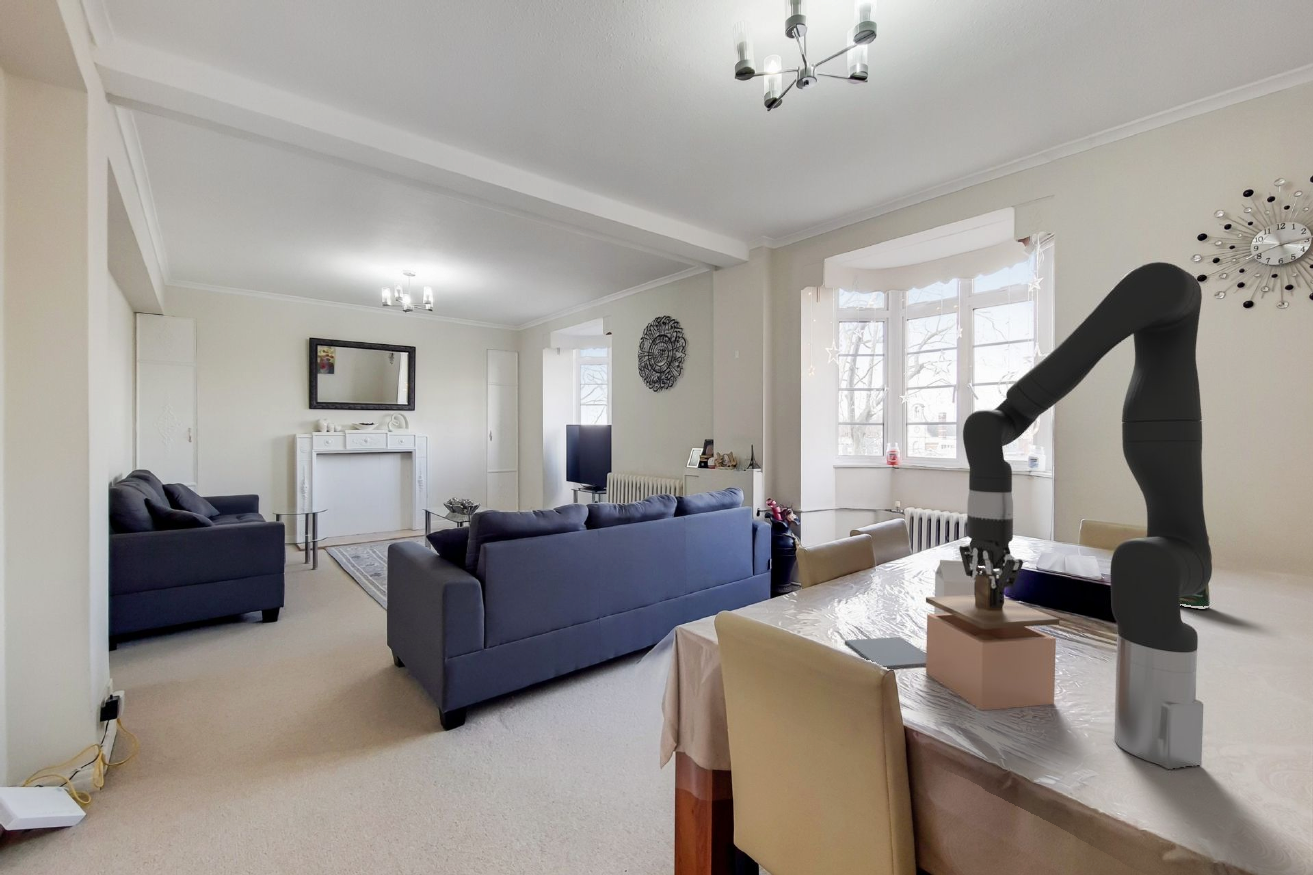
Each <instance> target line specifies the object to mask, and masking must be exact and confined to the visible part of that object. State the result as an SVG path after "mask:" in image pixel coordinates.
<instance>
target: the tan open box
mask: <svg viewBox="0 0 1313 875" xmlns="http://www.w3.org/2000/svg"><path fill="white" fill-rule="evenodd" d="M980 634H987V635H990V636H993V637H995V638H997V639H998V640H985V641H983V640H981V639H979V638H977V637H975V636H977V635H980ZM1056 644H1057V638H1056V637H1054V636H1051V635H1049V634H1047V633H1044V632H1042V631H1040V630H1038V629H1035V628H1033V627H1032V626H1026V627H1010V628H994V629H982V628H980V627H978V626H976V625H974V624H971V623H969V622H967V621H965V620H963V619H961V618H958V617H956V616H954V615H952V614H950V613H943V614H934V613H930V614H928V613H927V616H926V648H925V649H926V650H925V653H926V666H925V674H927V675H928V676H930V677H931V678H933V679H934V680H936V681H937V682H939V683H940V684H941V685H943V686H945V687H946V688H947V689H949V690H951V691H952V692H953V693H954V694H957V695H958V696H959V697H961V698H962V699H964V700H965V701H967V702H968V703H970V704H971V705H972V706H974V707H975V708H977V709H978V710H980V711H989V710H1001V709H1012V708H1013V709H1014V708H1021V707H1033V706H1036V707H1037V706H1045V705H1046V706H1047V705H1055V684H1056V683H1055V682H1056V680H1055V679H1056V655H1057V654H1056V653H1057V652H1056V651H1057V650H1056V648H1057V645H1056Z"/></svg>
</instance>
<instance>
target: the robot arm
mask: <svg viewBox="0 0 1313 875" xmlns="http://www.w3.org/2000/svg"><path fill="white" fill-rule="evenodd" d="M1202 298H1203V293H1202V287H1201V285H1200V283H1199V281H1198V280H1197V278H1196V276H1194V275H1193V274H1191V273H1189V271H1186V270H1185V269H1183V268H1181V267H1180V266H1177V265H1175V264H1173V263H1169V262H1165V261H1164V262H1162V261H1159V262H1158V261H1155V262H1150V263H1145V264H1142V265H1139V266H1137V267H1135V268H1134V269H1132V270H1130V271H1129V272H1128V273H1126V274H1125V275H1124V276H1123V277H1122V278H1121V279H1119V281H1118V282H1117V283H1116V284H1115V285H1114V286H1113V287H1112V289H1111V290H1110V291H1109V292H1108V293H1107V294H1106V296H1104V298H1102V300H1101V301H1100V302H1099V303H1098V305H1097V306H1096V307H1095V308H1094V309H1093V310H1092V311H1091V312H1090V314H1088V316H1086V318H1084V320H1083V321H1082V322H1081V323H1080V324H1079V325H1078V326H1077V327H1076V328H1075V329H1074V330H1073V331H1072V332H1071V333H1070V334H1069V335H1068V336H1067V337H1066V338H1065V339H1063V341H1062V342H1061V343H1060V344H1059V345H1057V346H1056V348H1054V350H1052V351H1051V352H1050V353H1049V354H1047V356H1045V357H1044V358H1043V359H1041V361H1039V362H1038V363H1037V364H1036V365H1035V366H1033V367H1032V368H1031V369H1029V371H1028V372H1025V374H1024V375H1023V376H1021V377H1020V378H1019V379H1018V380H1017V381H1016V382H1015V383H1013V384H1012V385H1011V386H1010V387H1009V388H1008V389H1007V391H1006V394H1005V397H1006V398H1005V399H1004V400H1003V401H1002V402H1001V403H1000V404H999V405H998V406H996V407H995V408H994V409H979V410H976V411H974V412H972V413H971V414H969V416H968V417H967V418H966V419H965V422H964V424H963V429H962V440H963V445H964V451H965V455H966V459H967V463H968V467H969V472H968V473H969V475H968V476H969V477H968V478H969V479H968V483H969V484H968V496H967V503H966V504H967V506H966V507H967V509H966V510H967V512H966V514H967V515H966V516H967V518H966V519H967V520H966V535H967V538H970V539H971V540H970V542H969V544H968V545H960V546H959V548H958V549H959V553H960V556H961V557H960V559H961V561H963V565H964V569H965V573H966V575H967V576H971V577H972V580H973V581H974V589H975V577H976V574H987V575H989V577H990V585H991V587H992V588H990V606H991V607H993V608H1002V607H1003V605H1004V598H1005V589H1006V588H1014V587H1015V585H1016V582H1017V580H1018V577H1019V575H1020V573H1021V570H1022V568H1023V565H1024V562H1023V561H1024V560H1023V559H1021V558H1016V557H1014V556H1013V555H1012V554H1011V550H1010V545H1009V544H1010V542H1012V541H1013V538H1014V536H1013V535H1014V501H1013V493H1012V492H1013V470H1012V466H1011V464H1010V463H1009V462H1007V461H1006V460H1005V456H1004V449H1003V447H1004V446H1007V445H1009V444H1011V443H1012V442H1014V441H1015V440H1017V439H1018V438H1019V437H1021V436H1022V435H1023V434H1024V433H1025V432H1027V430H1028V429H1029V428H1030V427H1031V426H1032V425H1033V424H1034V422H1035V421H1036V420H1037V419H1038V418H1039V417H1040V416H1041V415H1042V414H1044V413H1045V412H1047V411H1048V410H1049V409H1050V408H1051V407H1053V406H1055V404H1057V403H1058V402H1060V401H1061V400H1062V399H1064V398H1065V397H1066V396H1067V395H1068V394H1070V392H1072V391H1073V390H1074V389H1075V388H1076V387H1077V386H1078V385H1080V383H1081V382H1082V381H1083V380H1084V379H1085V378H1086V377H1087V376H1088V374H1089V373H1090V372H1091V371H1092V370H1093V368H1095V366H1096V365H1098V363H1099V362H1100V361H1101V360H1102V358H1104V357H1105V356H1106V355H1107V354H1108V353H1109V352H1110V351H1111V350H1112V349H1114V348H1115V347H1116V346H1117V345H1119V344H1120V343H1121V342H1123V341H1124V340H1126V339H1128V338H1129V337H1130V336H1133V343H1134V366H1133V369H1132V370H1133V371H1132V374H1131V378H1130V381H1129V383H1128V388H1127V390H1126V394H1125V398H1124V402H1123V406H1122V414H1121V416H1122V417H1121V436H1122V439H1121V440H1122V441H1121V442H1122V443H1121V445H1122V452H1123V455H1124V456H1123V457H1124V458H1125V461H1126V464H1127V466H1128V468H1129V470H1130V472H1131V474H1132V475H1133V477H1134V479H1135V481H1136V483H1137V485H1138V487H1139V488H1140V491H1141V492H1142V495H1143V498H1144V502H1145V506H1146V524H1147V526H1146V537H1137V538H1130V539H1127V540H1124V541H1122V542H1121V543H1120V544H1119V545H1118V546H1117V547H1116V548H1115V550H1114V552H1113V554H1112V556H1111V561H1110V573H1109V574H1110V577H1109V578H1110V600H1111V601H1110V602H1111V604H1110V606H1111V612H1112V616H1113V618H1114V621H1116V625H1117V634H1116V638H1117V639H1116V667H1115V668H1116V669H1115V670H1116V671H1115V701H1114V704H1115V705H1114V736H1113V737H1114V741H1115V743H1116V745H1117V746H1119V747H1120V748H1121V749H1123V750H1124V751H1126V752H1127V753H1129V754H1131V755H1133V756H1135V757H1137V758H1140V759H1141V760H1145V761H1147V762H1150V763H1153V764H1157V765H1159V766H1161V767H1163V768H1165V769H1167V770H1174V769H1173V768H1175V769H1181V768H1180V767H1184V766H1192V767H1198V766H1197V765H1201V766H1202V764H1203V763H1202V761H1203V731H1204V730H1203V728H1204V727H1203V726H1204V703H1203V702H1202V701H1200V700H1198V699H1197V670H1198V669H1197V667H1198V666H1197V665H1198V645H1199V644H1198V641H1199V639H1198V638H1199V637H1198V633H1197V630H1196V629H1195V628H1194V627H1193V626H1191V625H1190V624H1188V623H1186V622H1184V621H1183V620H1182V614H1181V613H1182V612H1181V607H1180V597H1184V596H1190V595H1194V594H1197V593H1199V592H1201V591H1202V590H1203V589H1204V588H1205V587H1206V586H1207V585H1209V582H1210V581H1211V579H1212V575H1213V563H1212V562H1213V561H1212V560H1211V555H1212V553H1211V554H1210V549H1211V546H1210V547H1209V545H1210V543H1209V537H1208V531H1207V524H1206V519H1205V518H1206V517H1205V511H1204V486H1203V484H1204V483H1203V482H1204V481H1203V460H1202V459H1203V458H1202V457H1203V454H1202V452H1203V419H1202V418H1203V416H1202V406H1201V393H1200V381H1199V373H1198V367H1197V366H1198V365H1197V352H1196V351H1197V341H1198V333H1199V332H1198V330H1199V321H1200V314H1201V308H1202V301H1203V299H1202ZM970 564H972V569H973V570H971V568H970ZM996 576H998V577H999V581H997V578H996ZM974 591H975V590H974ZM974 595H975V592H974ZM1194 765H1195V766H1194ZM1184 768H1185V767H1184Z"/></svg>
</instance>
